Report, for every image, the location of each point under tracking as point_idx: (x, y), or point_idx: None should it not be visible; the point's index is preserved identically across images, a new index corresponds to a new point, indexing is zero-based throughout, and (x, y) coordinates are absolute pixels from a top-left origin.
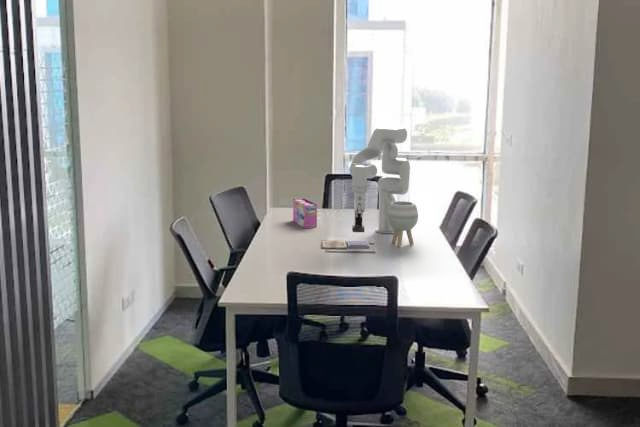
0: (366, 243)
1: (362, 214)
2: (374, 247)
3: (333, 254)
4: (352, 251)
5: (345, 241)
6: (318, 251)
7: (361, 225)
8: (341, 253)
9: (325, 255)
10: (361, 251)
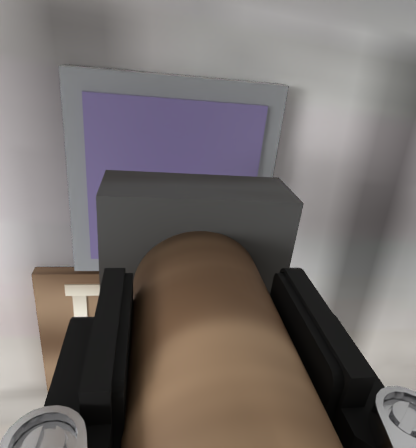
0: (198, 106)
1: (280, 439)
2: (247, 19)
3: (398, 340)
4: (355, 234)
5: (66, 281)
6: None
7: (246, 258)
8: (388, 301)
9: (406, 374)
10: (371, 169)
